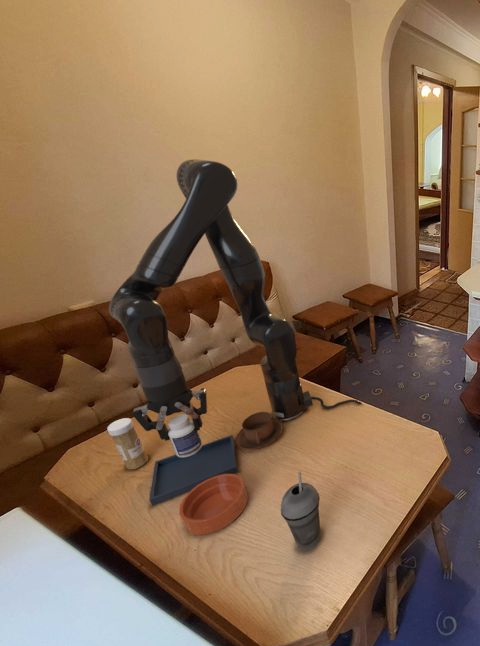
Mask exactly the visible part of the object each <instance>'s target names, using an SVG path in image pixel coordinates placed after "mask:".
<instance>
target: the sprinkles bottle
mask: <svg viewBox="0 0 480 646" xmlns="http://www.w3.org/2000/svg"><path fill="white" fill-rule="evenodd" d="M106 430H107V432H108V434H109V436H110V437H111V438H112V440H113V442H114V445H115V447H116V449H117V452H118V454H119V455H120V457H121V459H122V460H123V462H124V464H125V468H126V469H128V470H136V469H138V468H140V467H142V466H144V465H145V464H146V463H147V462H148V461H149V456H148V455H147V453H146V451H145V448H144V447H145V446H144V445H143V443H142V441H141V438H139V435H138V433H137V431H136V429H135V426H134V422H133V420H132V419H131V418H129V417H124V418H120V419H118V420H115V421H113V422H111V423H110V424H109V425H108V426H107V428H106Z"/></svg>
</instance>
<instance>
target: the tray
mask: <svg viewBox="0 0 480 646" xmlns="http://www.w3.org/2000/svg"><path fill="white" fill-rule="evenodd" d="M235 443H236V442H235V439H234V435H233V434H231V435H227V436H225V437H222V438H219V439H216V440H213V441H210V442H207V443H205V444H202V447H201V449H200V450H199V451H198V452H196V453H195V454H193V455H191V456H188V457H178V456H177V455H176V454H172V455H170V456H167V457H164V458H161V459H158V460H156V461H154V467H153V473H152V482H151V488H150V493H149V494H150V495H149V502H150V504H151V506H152V507H154V506H156V505H159V504H161V503H165V502H166V501H168V500H171V499H174V498H176V497H179V496H181V495H184V494H186V493H189V492H190V491H191V490H192V489H193V488H195V487H196V486H197V485H198V484H200V483H202V482H203V481H205V480H207V479H209V478H212V477H214V476H217V475H222V474H237V473H238V471H239V470H238V462H237V454H236V444H235Z"/></svg>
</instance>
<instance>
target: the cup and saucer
mask: <svg viewBox="0 0 480 646" xmlns="http://www.w3.org/2000/svg"><path fill="white" fill-rule="evenodd" d="M241 427H242V428H241V429H240V430H239V432H238V433H237V435H236V437H235V443H236V444H237V446H238V447H240V448H241V449H242V450H258V449H261V448H264V447H266V446H267V447H268V446H269V445H270V444H272V443H273V442H275V441H276V440H277V439H278V438H279V437H280V436H281V434H282V433H283V430H284V423H283V421H280V420H279V419H276V418H273V415H272V414H271V413H269V412H267V411H260V412H254V413H253V414H250V415H249V416H247V417H246V418H245V419H244V420H243V421H242V422H241Z"/></svg>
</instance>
